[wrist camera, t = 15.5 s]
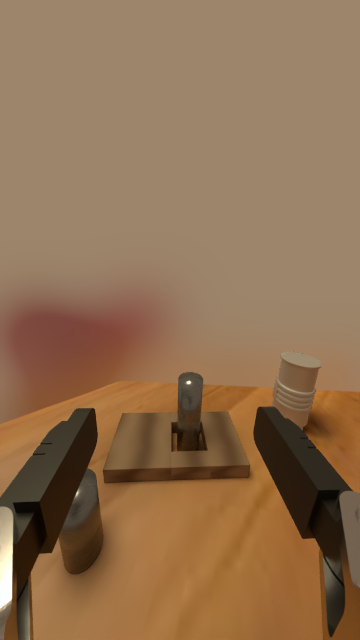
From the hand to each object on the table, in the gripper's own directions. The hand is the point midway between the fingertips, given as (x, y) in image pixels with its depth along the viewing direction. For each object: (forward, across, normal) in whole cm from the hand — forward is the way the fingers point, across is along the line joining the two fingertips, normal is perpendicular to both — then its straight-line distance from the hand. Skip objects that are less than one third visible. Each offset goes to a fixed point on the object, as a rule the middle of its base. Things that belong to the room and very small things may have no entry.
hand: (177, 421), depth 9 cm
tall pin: (+18, -3, +24) cm, 30 cm away
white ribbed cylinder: (+23, -26, +24) cm, 42 cm away
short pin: (+6, +10, +24) cm, 26 cm away
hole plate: (+18, -1, +24) cm, 30 cm away
